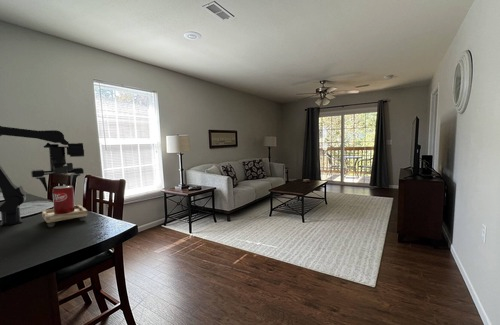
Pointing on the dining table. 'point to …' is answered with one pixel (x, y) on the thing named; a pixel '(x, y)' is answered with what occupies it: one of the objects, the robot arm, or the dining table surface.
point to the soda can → (63, 199)
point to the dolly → (63, 215)
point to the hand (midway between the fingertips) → (59, 189)
